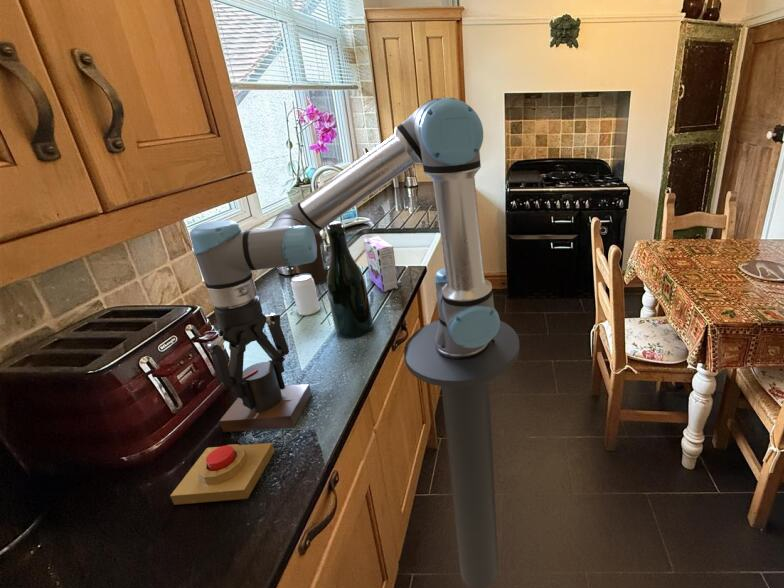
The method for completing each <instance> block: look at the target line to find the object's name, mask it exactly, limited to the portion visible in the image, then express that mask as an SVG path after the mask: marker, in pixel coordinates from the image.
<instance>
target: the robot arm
mask: <svg viewBox="0 0 784 588" xmlns="http://www.w3.org/2000/svg"><path fill="white" fill-rule="evenodd" d="M483 127H484V126H483V123H482V121H481V119H480V117H479V115H478V113H477V111H475V110H474V108H472V107H471V106H470V105H469V104H467V103H466V102H465V101H462V100H461V99H458V98H455V97H442V98H441V97H440V98H439V97H438V98H433V99H432V98H431V99H429V100H427V101H425V102H424V103H422V104H421V105H420V106H419V107H418V108H417V109H416V110H415V111H414V112H413V113H412V114H410V116H409V117H407V118H406V119H405V120H404V121H402V122H400V123H399V124H398V125H397V126H396V127H394V133H393V135H391V136H390V137H389V138H387V139H386V140H384V141H383V142H382V143H380V144H378V145H377V146H376V147H374V148H373V149H372V150H370V151H368V152H367V153H365V154H364V155H363V156H361V157H360V158H359V159H357V160H356V161H354V162H353V163H352V164H350V165H349V166H347V167H346V168H344V169H343V170H342V171H340V172H339V173H337V174H336V175H334V176H333V177H331V178H330V179H328V180H327V181H326V182H325V183H323V184H322V185H320V186H319V187H318V188H316V189H315V190H313V191H311V192H310V193H309V194H308V195H306V196H304V197H303V198H302V199H300V200H299V201H298V202H297V203H295V204H293V205H292V206H291V207H288V208H285V209H283V210H282V211H280V213H278V214H277V215H276V217H275V218H274V221H272V224H271V225H270V226H269V227H268V228H264V229H263V228H262V229H256V230H242V229H241V228H240V225H239V224H238V222H236V221H235V220H226V219H225V220H215V221H209V222H205V223H204V222H203V223H201V224H198V225H196V226H195V227H193V228H192V229H191V230H190V233H189V236H190V241H191V244H192V249H193V255H194V256H195V259H196V261H197V265H198V268H199V270H200V273H201V276H202V279H203V281H204V285H205V288H206V291H207V294H208V298H209V301H210V304H211V306H213V308H212V309H213V313H214V316H215V319H216V322H217V325H218V327H219V334H218V337H216V338H215V339H213V341H206V343H205V344H204V347H205V348H206V349H207V351H208V352H209V353H210V355H211V359H212V364H213V368H214V371H215V372H214V373H215V376H216V379H217V383H218V385H219V386H220V387H223V388H225V389H231V388H232V390H233V393H234V396H235V397H237V398H238V397H239V398H241V399H242V402H243V405H244V406H246V407H247V408H249V409H251V410H252V409H254V408H255V405H254V402H253V399H252V396H251V393H250V389H249V386H248V383H247V382H246V381H244V380H242V378H243V371H244V357H245V352H246V351H247V350H246V349H247V346H248V345H249V344H251V343H252V342H256V343H257V344H258V345H259V346H260V347H261V349H262V350H263V352H265V353H266V355H267V356H268V357H269V358H270V360H268V361H267V362H270V363H272V364H273V365H274V368H275V372H276V375H277V379H278V382H279V386H280V389H282V390H283V389H284V388H285V386H286V385H285V381H284V377H283V373H285V368H284V367H285V366H284V364H283V363H284V362H285V357H284V356H285V355H286V356H287V355H288V354H290V348H289V345H288V343H287V341H286V338H285V335H284V332H283V329H282V326H281V315H280V314H278V313H275V312H272V311H270V312H268V313H267V314H264V313H263V312H264V311H263V308H262V304H261V300H260V297H259V296H258V290H257V287H256V283H255V279H254V276H253V272H252V271H258V270H269V269H275V268H285V267H298V266H299V265H301V264H306V263H311V262H313V261H315V260H316V258H317V244H316V239H315V234H317V233H318V232H319V233H320V232H321V231H323V230H324V229H325V228H326V227H328V225H329V224H330V223H332V222H335V221H337V219H339V218H340V217H342V216H343V215H344V214H346V213H347V212H349V211H350V210H352V209H353V208H355V207H356V206H357V205H359V204H360V203H362V202H363V201H364V200H366V199H368V197H370V196H372V195H373V194H374V193H376V192H377V191H379V190H380V189H381V188H383V187H384V186H385V185H387V184H389V183H390V182H391V181H393V180H394V179H395V178H397V177H398V176H400V175H401V174H403V173H404V172H406V171H407V170H408V169H410V168H411V167H413V166H414V165H422V168H423V174H425V175H427V177H429V179H431V180H432V186H433V192H434V198H435V206H436V213H437V222H438V227H439V234H440V235H439V236H440V242H441V249H442V256H443V263H444V267H443V268H440V269H438V271H437V272H436V273H435V275H434V278H435V279H434V285H435V291H436V303H437V311H438V312H437V313H438V320H439V325H438V329H437V333H436V337H435V349H436V351H437V353H438V354H439V355H441V356H443V357H445V358H448V359H453V360H464V359H469V358H473V357H476V356H478V355H480V354H482V353H483V352H484V351H485V350H486V349H487V348H488V346H489V342H493V343H494V342H495V340H494V339H492V338H493V337H495V336H496V334H497V332H498V330H499V327H500V321H501V320H500V314H499V312H498V311H497V310H496V308H495V304H494V303H495V302H494V293H493V285H492V282H491V281H490V280H488V278H485V270H484V269H485V268H484V259H483V248H482V238H481V228H480V218H479V209H478V198H477V189H476V180H475V179H476V178H475V176H476V174H477V173H478V171H480V170H481V168H482V164H481V163H482V162H481V152H480V150H481V148H482V145H483V141H484V128H483ZM266 324H267V328H268V330H269V333H270V335H271V338H272V340H273V343H274V345H273V344H272V342H271V340H269V337H268V336H267V335H266V333H265V332H264V328H265V325H266ZM225 342H227V343H228V349H229V352H230V353H229V366H228V361H227V357H226V353H225V351H224V350H225V344H224V343H225Z"/></svg>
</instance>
